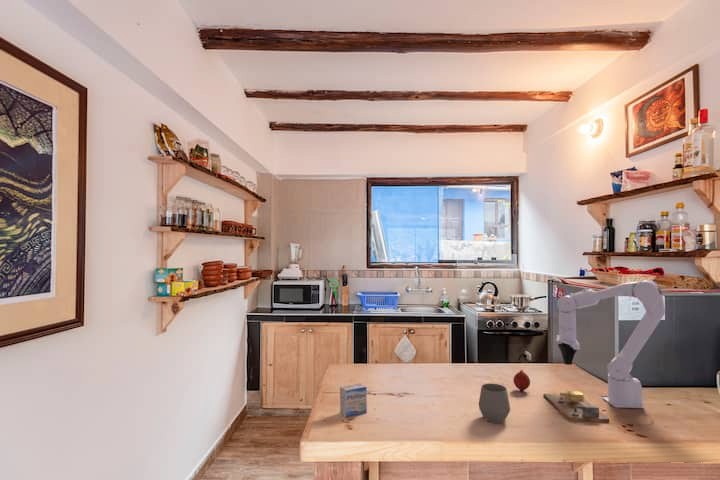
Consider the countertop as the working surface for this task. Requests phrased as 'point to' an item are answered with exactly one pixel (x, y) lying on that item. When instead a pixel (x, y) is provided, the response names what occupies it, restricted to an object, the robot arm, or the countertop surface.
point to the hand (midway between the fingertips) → (567, 364)
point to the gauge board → (576, 409)
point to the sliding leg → (573, 396)
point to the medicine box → (353, 400)
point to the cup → (494, 402)
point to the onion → (521, 380)
